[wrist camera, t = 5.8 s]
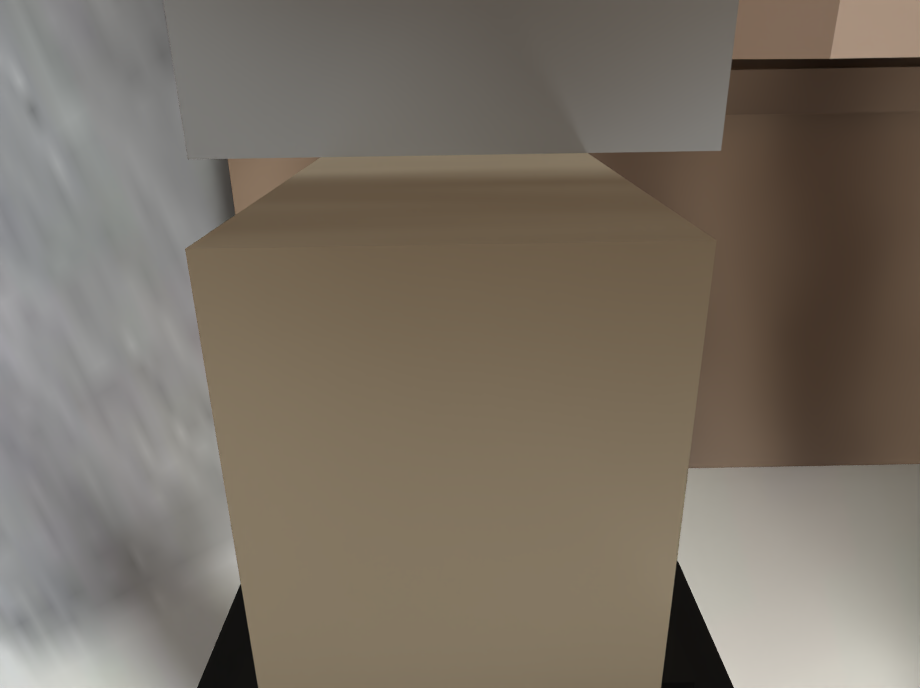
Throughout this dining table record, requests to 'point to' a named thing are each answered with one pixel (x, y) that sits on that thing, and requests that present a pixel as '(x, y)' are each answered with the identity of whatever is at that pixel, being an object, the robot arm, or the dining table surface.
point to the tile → (827, 29)
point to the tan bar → (453, 329)
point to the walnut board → (790, 260)
